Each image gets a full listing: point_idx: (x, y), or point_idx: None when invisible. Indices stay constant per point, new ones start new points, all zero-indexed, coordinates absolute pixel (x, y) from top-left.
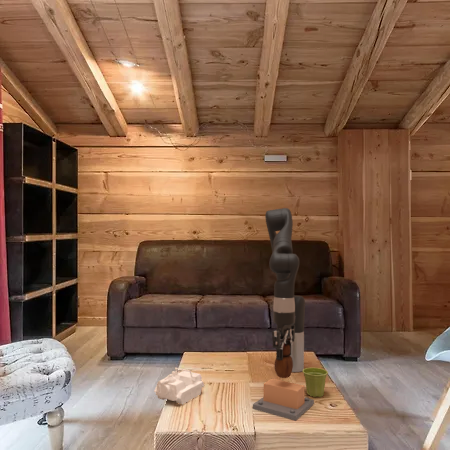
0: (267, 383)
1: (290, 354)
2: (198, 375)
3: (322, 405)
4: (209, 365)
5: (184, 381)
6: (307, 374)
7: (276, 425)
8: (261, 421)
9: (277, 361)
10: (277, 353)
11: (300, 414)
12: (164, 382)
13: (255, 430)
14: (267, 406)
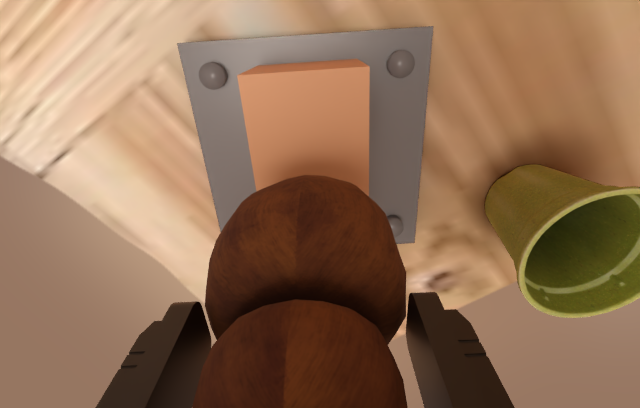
0: (257, 98)
1: (409, 349)
2: None
3: (415, 259)
4: None
5: None
6: (526, 245)
7: (145, 209)
8: (122, 150)
9: (207, 280)
10: (118, 388)
11: None
12: None
13: (48, 172)
14: (214, 122)
